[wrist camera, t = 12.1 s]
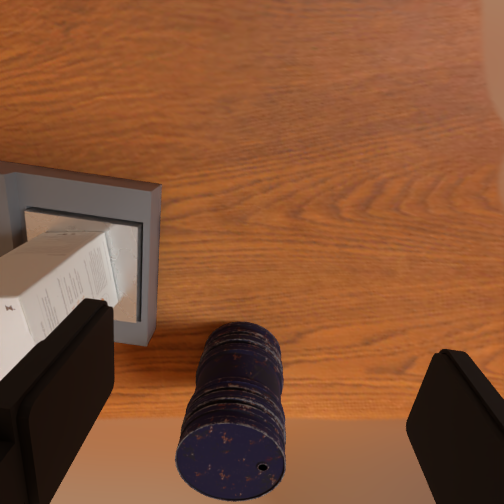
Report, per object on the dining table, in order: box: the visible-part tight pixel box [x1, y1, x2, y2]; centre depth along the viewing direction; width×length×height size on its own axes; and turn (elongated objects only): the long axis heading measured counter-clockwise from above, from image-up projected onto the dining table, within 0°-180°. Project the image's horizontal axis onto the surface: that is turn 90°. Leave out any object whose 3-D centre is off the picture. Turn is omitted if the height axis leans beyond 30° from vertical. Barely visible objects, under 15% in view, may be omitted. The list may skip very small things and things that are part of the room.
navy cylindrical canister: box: [175, 322, 286, 502], centre depth 38 cm, size 10×10×15 cm
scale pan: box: [24, 207, 143, 323], centre depth 38 cm, size 11×11×3 cm
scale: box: [0, 161, 162, 346], centre depth 38 cm, size 18×18×5 cm
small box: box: [0, 232, 118, 381], centre depth 31 cm, size 8×6×13 cm
